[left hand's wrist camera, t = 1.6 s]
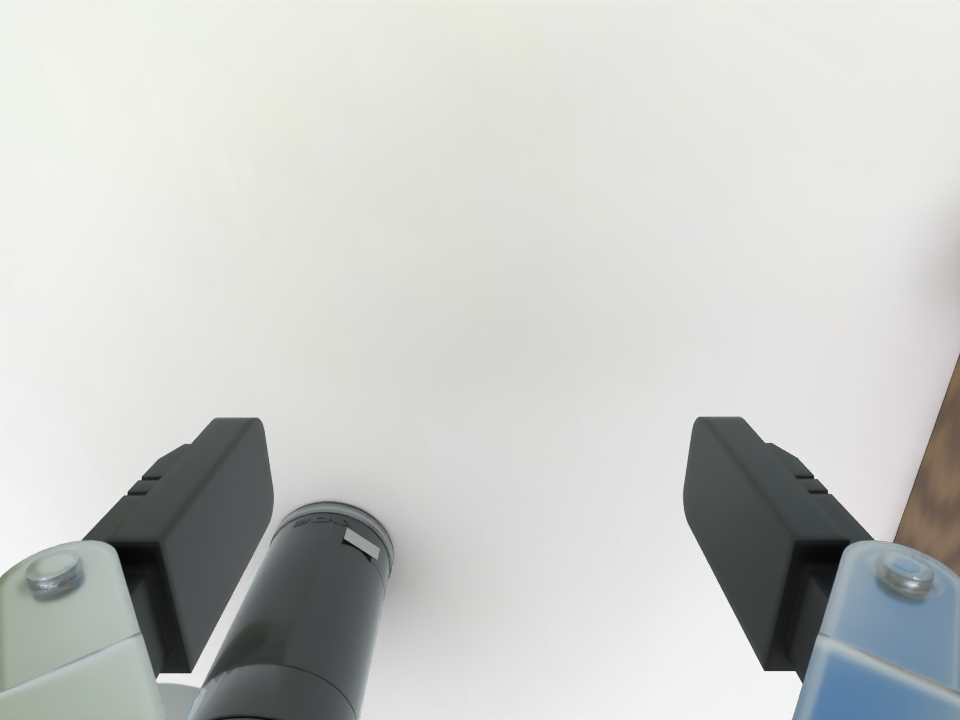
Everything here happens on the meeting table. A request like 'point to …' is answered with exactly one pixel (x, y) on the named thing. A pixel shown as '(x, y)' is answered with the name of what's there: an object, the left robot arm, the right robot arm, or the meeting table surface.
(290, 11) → the meeting table surface
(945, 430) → the box
